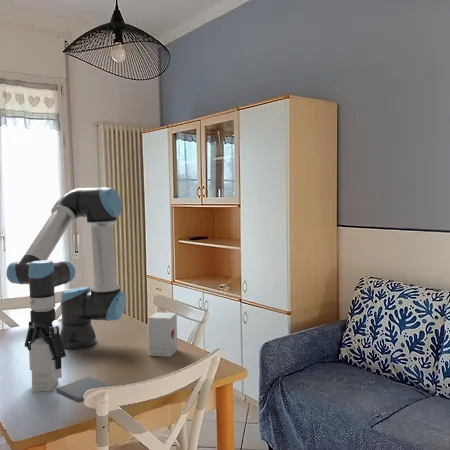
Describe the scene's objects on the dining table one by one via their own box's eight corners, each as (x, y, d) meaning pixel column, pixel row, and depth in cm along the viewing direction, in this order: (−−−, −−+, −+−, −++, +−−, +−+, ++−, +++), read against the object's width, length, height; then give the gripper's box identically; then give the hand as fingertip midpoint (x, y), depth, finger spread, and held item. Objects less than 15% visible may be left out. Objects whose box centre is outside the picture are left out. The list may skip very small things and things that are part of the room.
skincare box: (39, 382, 160) (37, 336, 159) (59, 381, 161) (58, 335, 160) (31, 392, 152) (29, 344, 151) (53, 391, 152) (51, 343, 151)
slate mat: (56, 391, 153) (56, 388, 153) (88, 379, 162) (88, 376, 162) (78, 401, 145) (78, 398, 145) (111, 388, 154) (110, 385, 154)
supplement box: (171, 357, 182) (170, 318, 181) (148, 356, 184) (147, 317, 183) (178, 349, 191) (177, 312, 190) (156, 348, 193) (155, 311, 192)
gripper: (11, 306, 159) (14, 368, 161) (54, 317, 144) (56, 386, 145) (33, 301, 165) (35, 362, 167) (75, 312, 150) (78, 378, 151)
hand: (45, 373), depth 156 cm, fingers open, 13 cm apart
